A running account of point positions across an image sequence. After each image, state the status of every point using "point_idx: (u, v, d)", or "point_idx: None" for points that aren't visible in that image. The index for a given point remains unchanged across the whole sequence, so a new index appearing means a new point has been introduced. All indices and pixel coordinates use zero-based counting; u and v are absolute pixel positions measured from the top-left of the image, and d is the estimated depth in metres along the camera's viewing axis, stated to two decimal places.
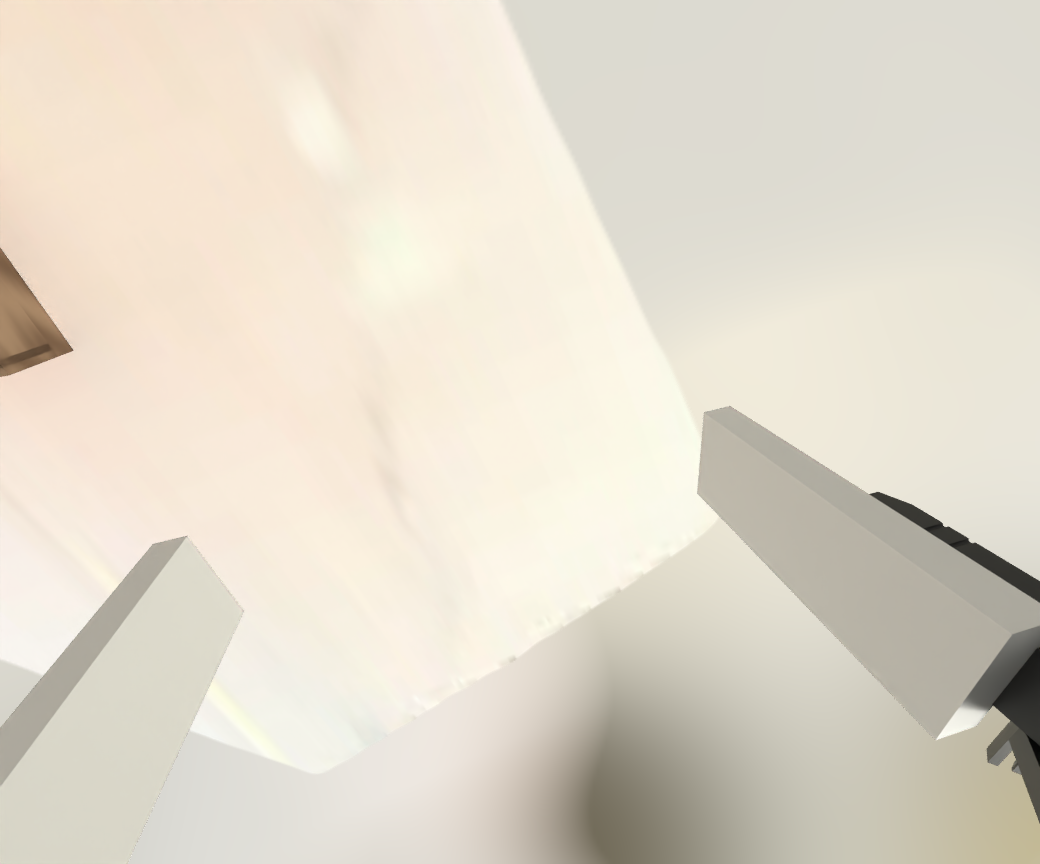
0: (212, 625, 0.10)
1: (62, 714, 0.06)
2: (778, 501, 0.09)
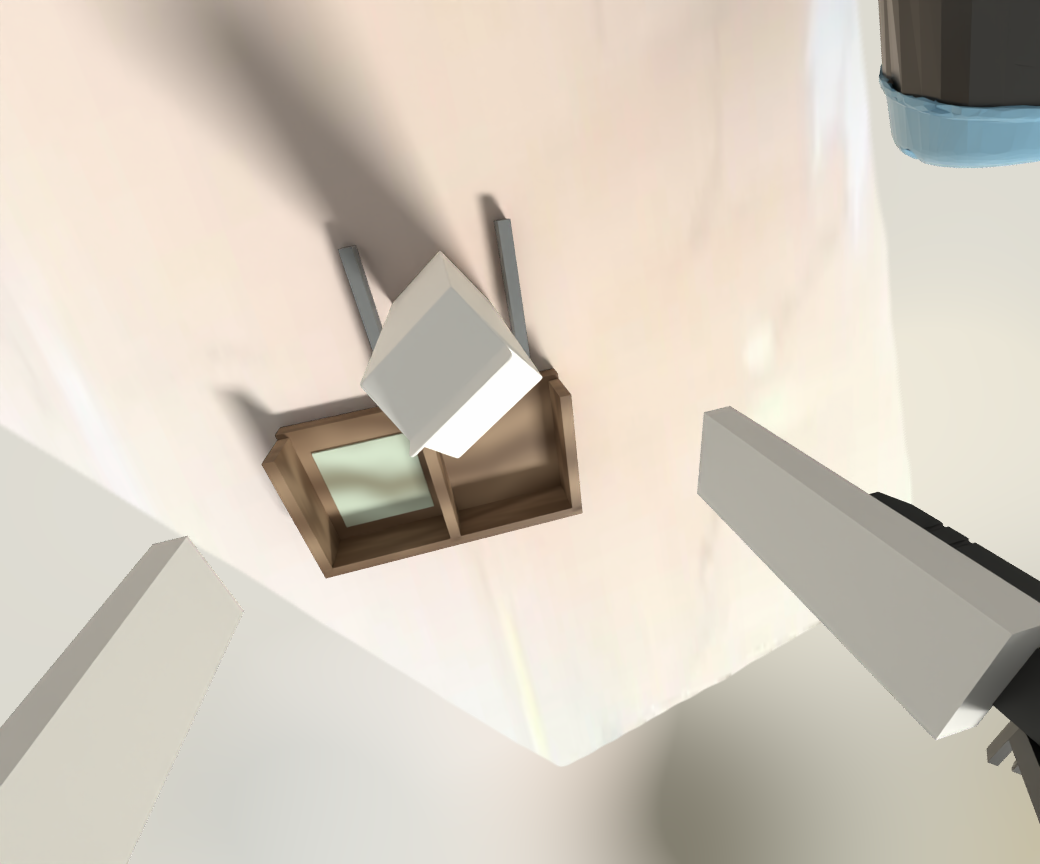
0: (212, 625, 0.10)
1: (61, 714, 0.06)
2: (777, 501, 0.09)
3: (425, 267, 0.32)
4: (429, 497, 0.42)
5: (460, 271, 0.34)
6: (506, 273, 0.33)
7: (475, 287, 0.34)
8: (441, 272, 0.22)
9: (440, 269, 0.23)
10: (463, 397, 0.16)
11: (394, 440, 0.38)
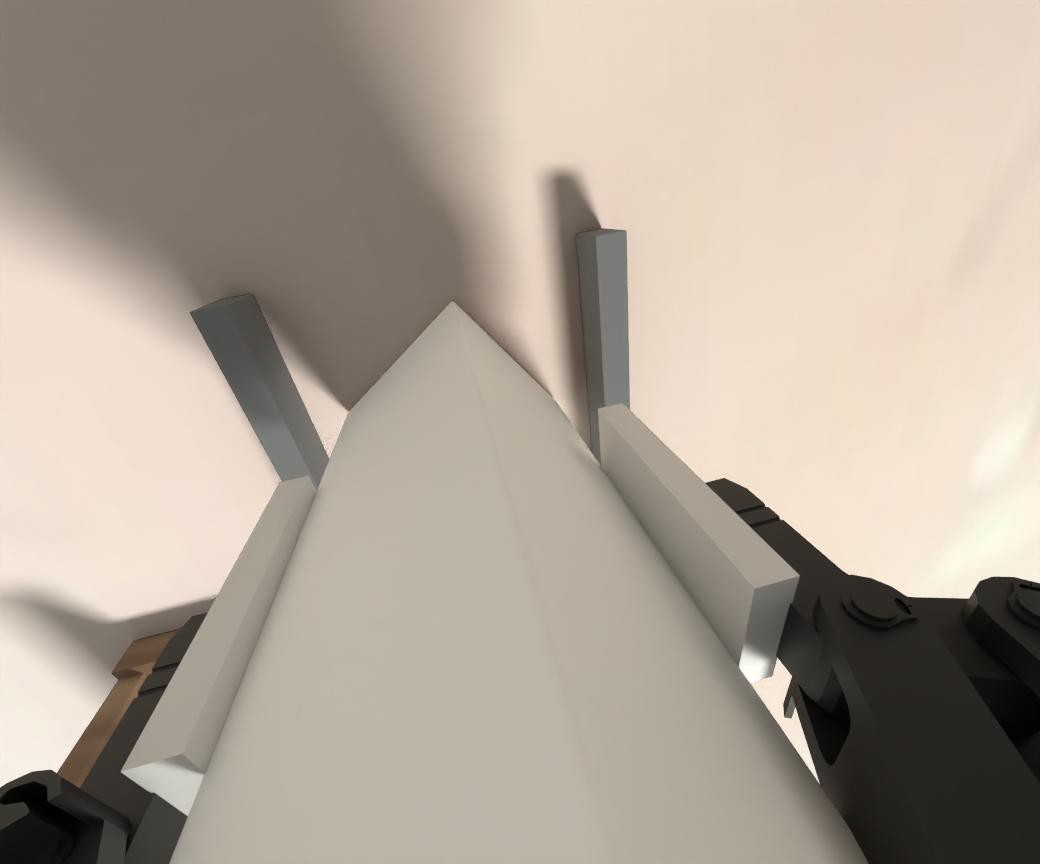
0: None
1: (259, 593, 0.08)
2: (641, 487, 0.10)
3: (419, 343, 0.14)
4: None
5: (497, 345, 0.15)
6: (603, 352, 0.15)
7: (531, 381, 0.15)
8: (504, 584, 0.04)
9: (482, 488, 0.05)
10: None
11: None
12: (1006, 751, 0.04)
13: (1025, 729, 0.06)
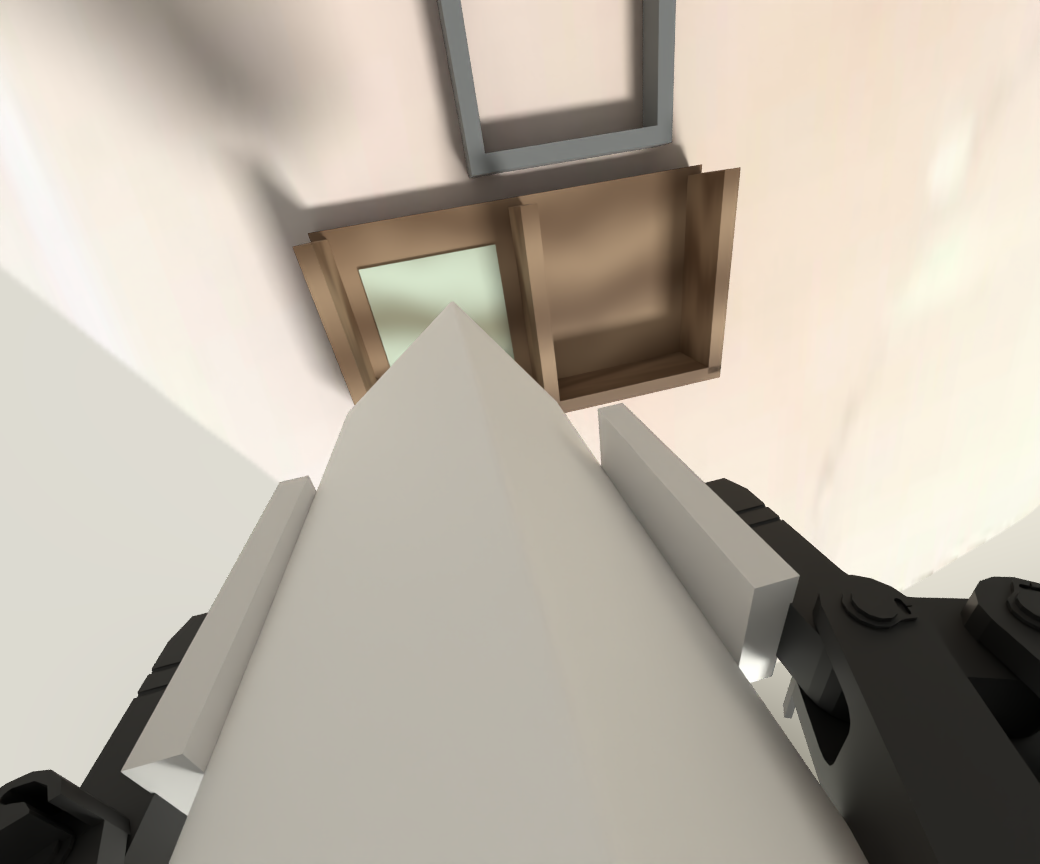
0: None
1: (259, 593, 0.08)
2: (641, 487, 0.10)
3: (419, 343, 0.14)
4: (511, 356, 0.31)
5: (498, 345, 0.15)
6: None
7: (531, 381, 0.15)
8: (504, 586, 0.04)
9: (482, 489, 0.05)
10: None
11: (473, 256, 0.27)
12: (1005, 752, 0.04)
13: (1025, 729, 0.06)
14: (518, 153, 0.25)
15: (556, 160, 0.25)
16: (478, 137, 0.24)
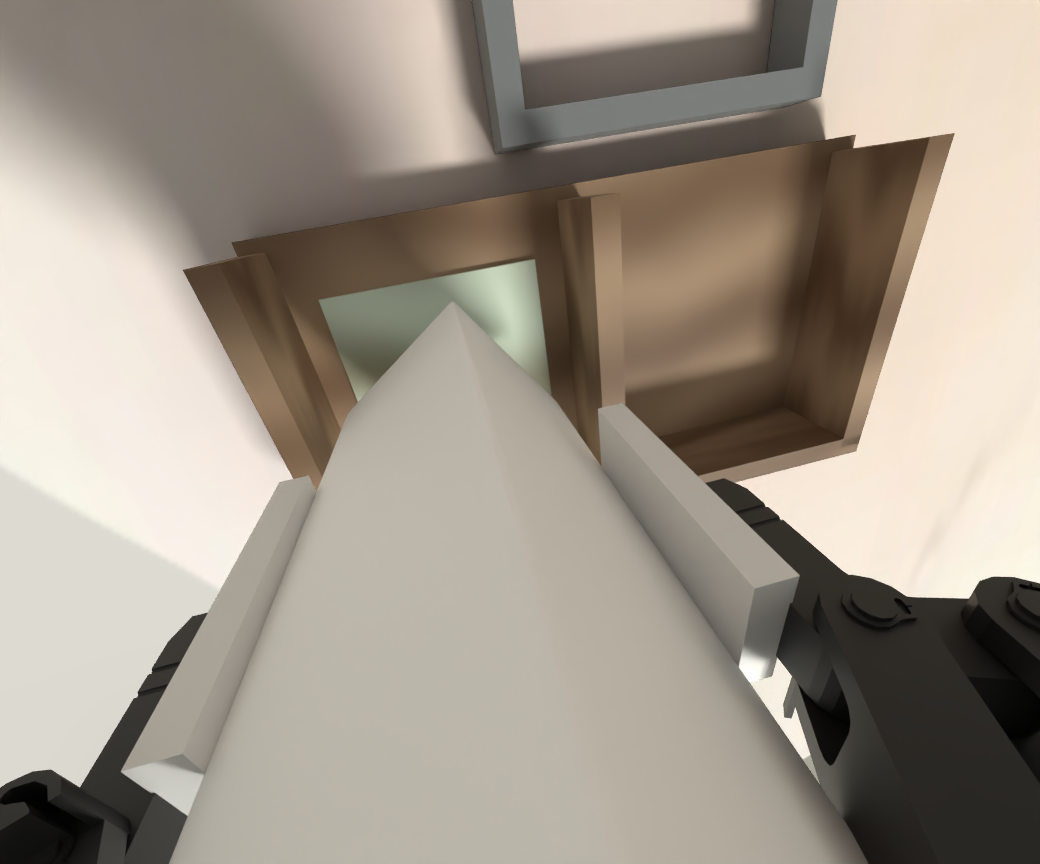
0: None
1: (259, 593, 0.08)
2: (641, 487, 0.10)
3: (419, 343, 0.14)
4: None
5: (498, 346, 0.15)
6: None
7: (531, 381, 0.15)
8: (504, 587, 0.04)
9: (482, 489, 0.05)
10: None
11: (500, 278, 0.17)
12: (1005, 751, 0.04)
13: (1025, 729, 0.06)
14: (579, 111, 0.15)
15: (639, 123, 0.15)
16: (515, 81, 0.14)
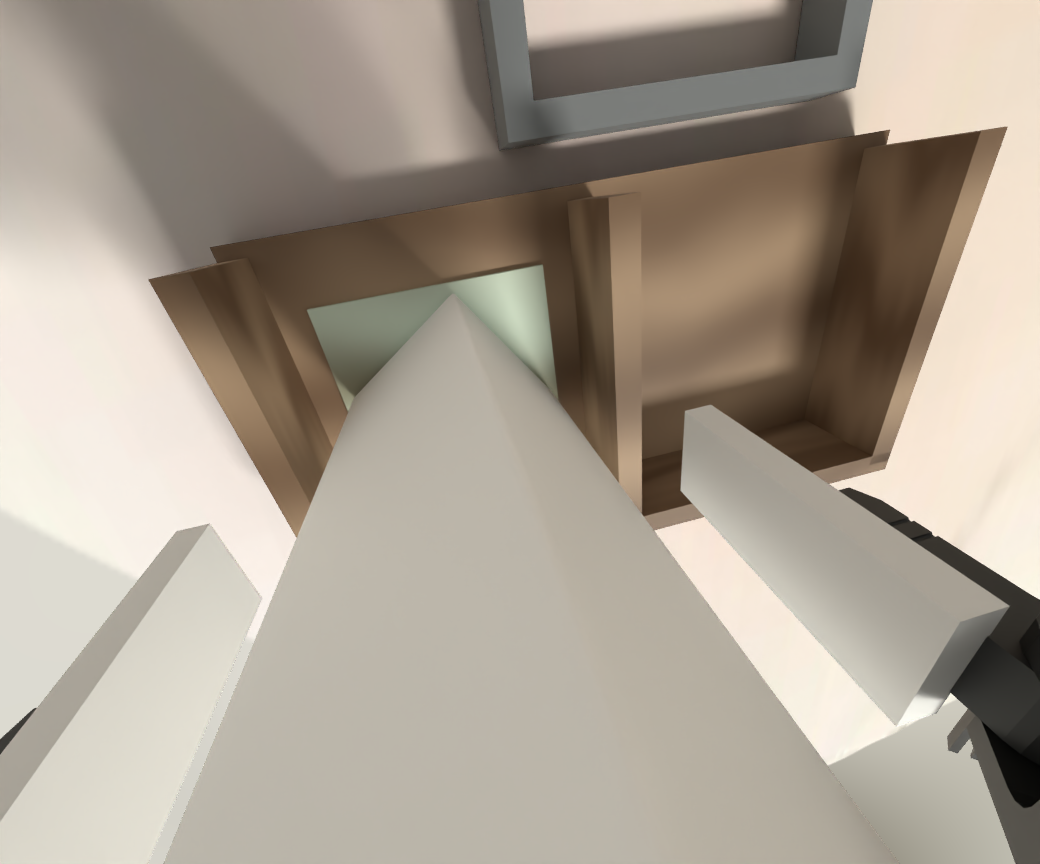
0: (233, 610, 0.10)
1: (101, 687, 0.06)
2: (752, 497, 0.09)
3: (422, 331, 0.15)
4: None
5: (495, 335, 0.16)
6: None
7: (526, 368, 0.16)
8: (497, 477, 0.05)
9: (480, 422, 0.06)
10: None
11: (505, 285, 0.16)
12: None
13: None
14: (593, 102, 0.14)
15: (658, 116, 0.14)
16: (522, 69, 0.13)
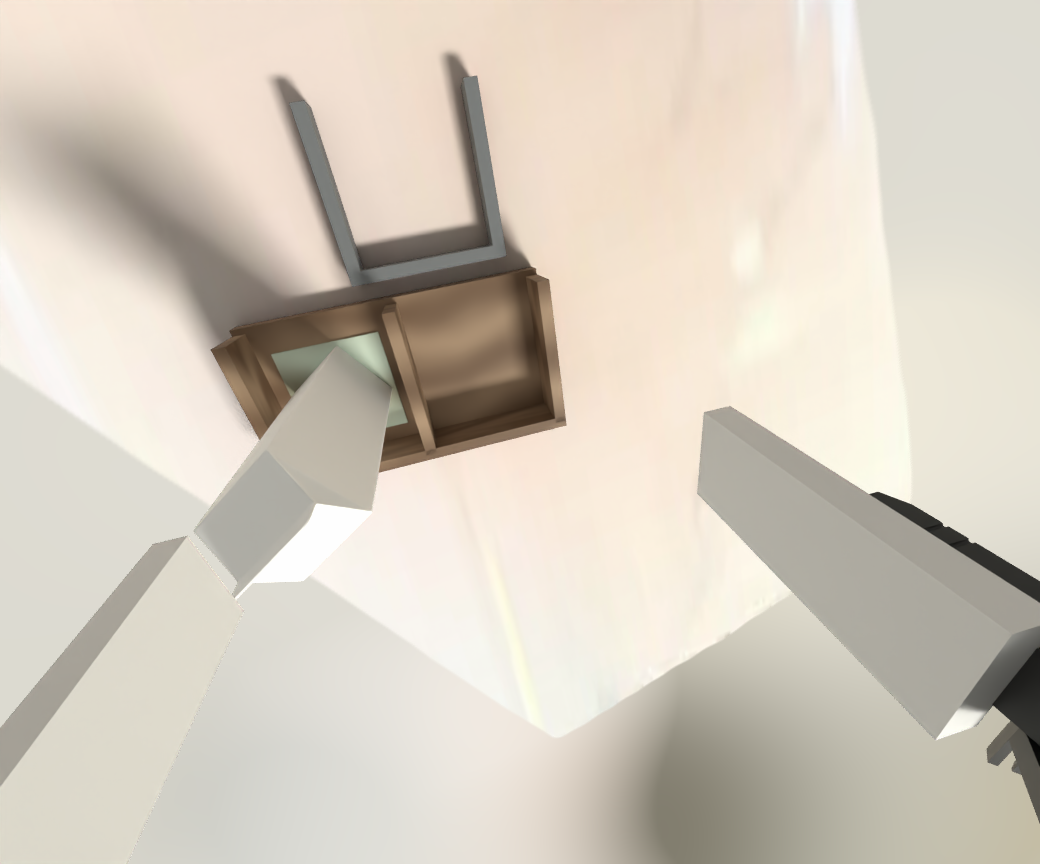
0: (212, 625, 0.10)
1: (62, 714, 0.06)
2: (777, 501, 0.09)
3: (321, 363, 0.34)
4: (402, 412, 0.39)
5: (357, 363, 0.36)
6: (475, 142, 0.31)
7: (371, 378, 0.36)
8: (295, 403, 0.24)
9: (301, 394, 0.26)
10: (273, 552, 0.18)
11: (361, 341, 0.36)
12: None
13: None
14: (386, 270, 0.33)
15: (417, 273, 0.34)
16: (354, 261, 0.32)
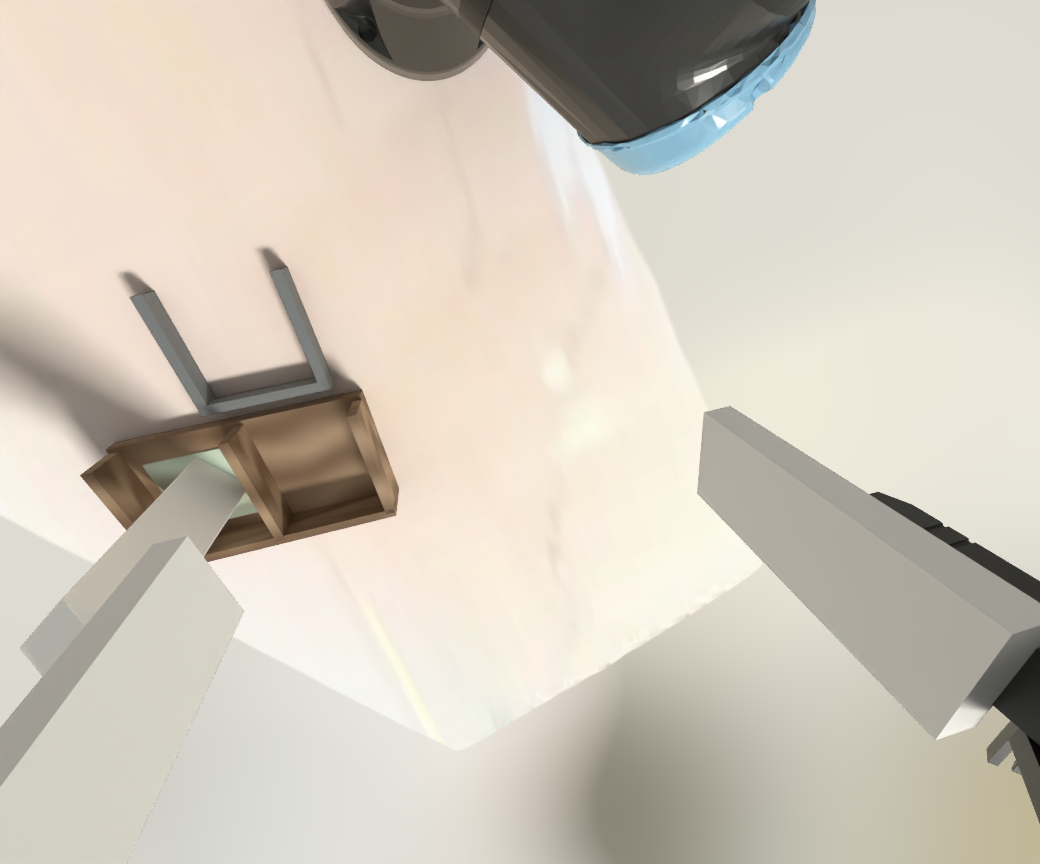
0: (212, 625, 0.10)
1: (62, 714, 0.06)
2: (778, 501, 0.09)
3: None
4: None
5: (214, 470, 0.44)
6: (288, 313, 0.39)
7: (226, 483, 0.44)
8: (117, 540, 0.33)
9: (129, 528, 0.34)
10: None
11: (217, 453, 0.44)
12: None
13: None
14: (229, 403, 0.42)
15: (255, 404, 0.42)
16: (200, 399, 0.41)
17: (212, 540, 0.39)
